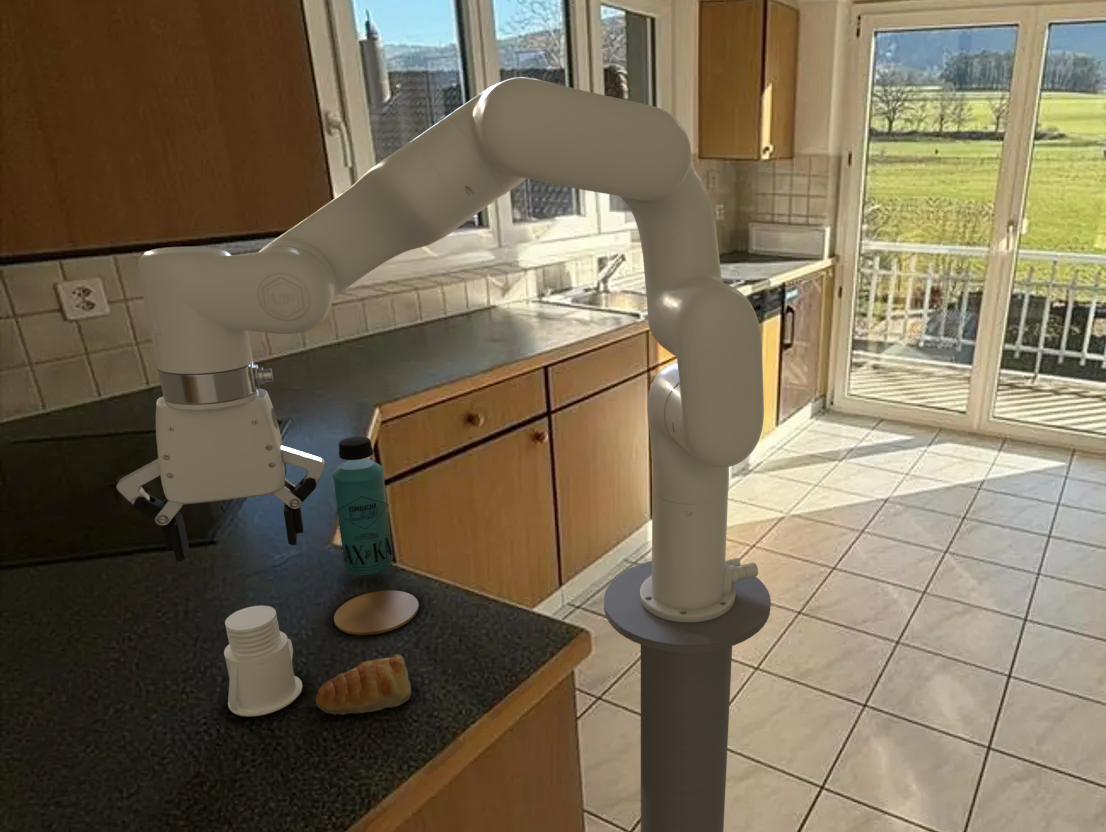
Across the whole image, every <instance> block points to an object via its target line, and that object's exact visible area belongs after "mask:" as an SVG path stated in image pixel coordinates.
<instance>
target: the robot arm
mask: <svg viewBox="0 0 1106 832" xmlns="http://www.w3.org/2000/svg"><path fill="white" fill-rule="evenodd" d="M527 179H529V180H533V181H537V182H542V183H545V184H551V185H556V186H561V187H566V188H569V189H576V190H580V191H581V190H582V191H587V192H593V193H598V194H599V193H600V194H606V195H611V196H616V197H620V198H621V200H623V202H624V203H625V204H626V206H627V207H628V209H629V210H630V211H631V214H632V215H633V218H634V220H635V224H636V226H637V231H638V234H639V235H638V236H639V240H640V248H641V253H642V260H643V261H642V262H643V273H644V282H645V295H646V296H645V297H646V310H647V323H648V328H649V331H650V333H651V335H652V337H653V339H654V341H656V342H657V343H658V345H659V346H661V347H662V348H663V349H664V350H666V351H667V352H669V353H670V354H671V355H673V356H674V357H676V360H677V361H675V362H672V363H670V364H668V365H666V366H665V367H664V368H663V369H661V370H660V371H659V373H657V375H656V376H655V378H654V379H653V381H652V383H651V385H650V387H649V391H648V395H647V403H646V404H647V421H648V430H649V436H650V437H649V438H650V445H651V462H652V464H651V465H652V488H651V561H652V575H651V576H649V577H648V578H647V579H646V580H645V581H644V582H643V583H642V585H641V588H640V601H641V603H642V605H643V606H644V608H645V609H646V610H648V611H649V612H650V613H652V614H653V615H655V616H657V617H660V618H662V619H666V620H669V621H675V622H684V623H693V622H702V621H708V620H711V619H714V618H717V617H719V616H721V615H723V614H725V613H726V612H727V611H729V610H730V609H731V608H732V606H733V605H734V602H735V596H736V591H735V587H734V585H733V584H734V583H737V581H738V580H739V579H746V578H751V577H755V576H756V577H758V574H759V568H758V565H757V564H756V563H755V562H754V561H753V562H752V561H751V562H748V563H743V564H741V560H740V558H739V557H734V558H730V559H727V560H726V555H727V553H726V550H727V529H728V510H729V509H728V508H729V507H728V506H729V491H730V490H729V487H730V467H733V466H736V465H738V464H740V463H742V462H744V460H746V459H747V458H748V457H749V456H750V455H751V454H752V453H753V452H754V450H755V449H756V447H757V445H758V443H759V441H760V438H761V436H762V432H763V428H764V419H765V401H764V400H765V399H764V370H763V369H764V368H763V366H764V365H763V345H762V333H761V326H760V322H759V319H758V316H757V313H756V310H755V309H754V307H753V305H752V303H751V301H750V300H749V298H747V297H746V295H745V294H743V292H741V291H740V290H738V289H737V288H736V287H734V286H732V285H730V284H728V283H725V282H724V281H723V277H722V271H721V261H720V251H719V243H718V233H717V232H718V231H717V223H716V216H715V211H714V207H713V204H712V200H711V198H710V194H709V191H708V190H707V188H706V185H705V183H704V182H703V180H702V178H701V176H700V175H699V174H698V172H697V170H696V169H695V167H694V166H693V165H692V147H691V142H690V139H689V136H688V134H687V132H686V130H685V128H684V127H683V125H682V124H681V123H680V122H679V120H678V119H677V118H676V117H674V115H672V114H671V113H670V112H668V111H666V110H664V109H662V108H660V107H657V106H655V105H650V104H646V103H642V102H637V101H633V100H628V99H624V98H619V97H614V96H609V95H605V94H601V93H596V92H591V91H588V90H583V89H578V88H575V87H571V86H566V85H562V84H559V83H554V82H551V81H546V80H541V79H537V78H533V77H532V78H530V77H526V76H525V77H524V76H522V77H521V76H520V77H511V78H508V79H505V80H502V81H501V82H498V83H495V84H493V85H492V86H489V87H488V88H486V89H485V90H483V91H482V92H480V93H478V94H477V95H475V96H474V97H472V98H471V99H469V100H468V101H467V102H466V103H464V104H462V105H461V106H459V107H458V108H456V109H455V110H454V111H452V112H451V113H449V114H448V115H446V116H445V117H444V118H442V119H441V120H439V121H438V122H436V123H435V124H433V125H432V126H430V127H429V128H428V129H426V130H425V131H423V132H422V133H421V134H419V135H418V136H416V137H415V138H413V139H412V140H410V141H408V142H407V143H406V144H404V145H403V146H401V147H400V148H398V149H397V150H395V151H394V152H392V153H391V154H389V155H388V156H386V157H385V158H383V159H382V160H381V161H380V162H378V163H377V164H375V165H374V166H373V167H371V168H370V169H368V171H366V173H364V174H363V175H362V176H361V177H360V178H359V179H358V180H357V181H356V182H355V183H354V184H352V185H351V186H350V187H349V188H347V189H346V190H345V191H344V192H342V193H340V194H339V195H337V197H335V198H333V199H332V200H331V201H329V202H327V203H326V204H325V205H323V206H322V207H320V208H319V209H317V210H315V212H313V213H311V214H310V215H309V216H307V217H306V218H305V219H303V220H302V221H300V222H298V223H297V224H295V225H294V226H292V228H290V229H288V230H287V231H285V232H284V233H282V234H281V235H280V236H278V237H277V238H275V239H273V240H272V241H271V242H269V243H268V244H267V245H265V246H264V247H262V248H261V249H260V250H259V251H257V252H255V253H247V254H235V255H232V254H231V253H230V252H228V251H226V250H224V249H220V248H216V247H207V246H171V247H170V246H169V247H160V248H154V249H150V250H148V251H145V252H144V253H142V254H141V256H140V257H139V259H138V263H137V272H138V278H139V283H140V287H141V288H140V289H141V292H142V298H143V302H144V307H145V312H146V318H147V323H148V327H149V333H150V337H151V342H152V347H153V353H154V357H155V363H156V366H157V372H158V376H159V377H158V378H159V382H160V386H161V392H162V396H161V397H159V398H157V399H156V405H155V407H156V408H155V439H156V447H157V448H156V449H157V458H156V459H154V460H153V461H151V462H149V463H147V464H144V465H143V466H141V467H139V468H138V469H136V470H134V471H132V472H130V473H129V474H127V475H125V476H123V477H122V478H120V479H119V480H118V482H117V484H116V490H117V491H118V492H119V493H120V494H121V496H122V497H124V498H125V499H126V500H127V501H128V502H130V503H131V505H133V508H134V509H135V510H136V511H138V512H139V513H141V514H144V515H145V516H147V517H149V518H151V519H152V520H154V521H155V524H157V525H158V526H161V530H162V534H163V539H164V544H165V548H166V551H167V552H172V551H173V553H174V557H175V558H174V559H175V562H176V563H178V562H183V561H184V560H186V558H187V556H188V553H189V548H190V547H189V540H188V536H187V530H186V525H185V520H184V515H183V514H182V513H181V512H180V510H181V509H182V508H183V506H184V505H192V504H194V505H195V504H202V503H203V504H204V503H211V502H212V503H213V502H222V501H229V500H238V499H246V498H255V497H262V496H268V495H272V496H274V497H275V498H277V499H278V500H279V501H281V502H282V503H283V517H284V523H285V530H286V536H287V542H288V545H290V546H297V545H298V534H302V533H304V521H303V514H302V507H301V506H302V504H303V503H304V502H305V500H306V499H307V498H308V497H310V495H311V494H312V493H313V492H314V491H315V490H316V488H317V485H318V483H319V481H320V479H321V477H322V475H323V473H324V470H325V468H326V461H325V459H324V458H322V457H320V456H317V455H313V454H311V453H308V452H304V451H301V450H298V449H295V448H291V447H288V446H285V445H283V441H282V436H281V435H282V434H281V431H280V427H279V423H278V418H277V415H276V411H275V409H274V405H273V403H272V400H271V398H270V395H269V393H268V391H267V390H265V389H264V388H260V387H261V385H265V384H266V383H273V382H274V375H273V374H274V373H273V368H272V367H265V368H264V367H263V366H261V367H260V366H259V365H258V364H255V359H254V358H253V352H252V351H253V350H252V345H251V338H250V333H249V331H250V332H259V333H267V334H276V335H277V334H278V335H295V334H296V335H297V334H301V333H306V332H309V331H311V330H312V329H315V328H316V327H318V326H320V325H321V324H322V323H323V322H324V321H325V319H326V318H327V317H328V316H329V313H330V311H331V308H332V305H333V300H334V298H336V297H337V296H339V295H340V294H341V293H343V291H345V290H346V289H348V288H350V286H352V285H354V284H355V283H356V282H358V281H360V280H361V279H362V278H363V277H365V276H366V275H368V274H369V273H370V272H372V271H374V270H375V269H376V268H378V267H380V266H381V265H383V264H384V263H386V262H389V261H390V260H391V259H394V258H396V257H397V256H400V255H401V254H403V253H405V252H409V251H412V250H416V249H420V248H424V247H427V246H430V245H433V244H434V243H436V242H438V241H440V240H442V239H444V238H445V237H447V236H448V235H450V234H452V232H454V231H455V230H457V229H458V228H459V227H461V226H462V225H465V223H466V222H468V221H470V220H471V219H472V218H473V217H475V216H476V215H478V213H480V212H482V211H483V210H484V209H486V208H487V207H488V206H490V205H491V204H493V203H494V202H496V201H497V200H498V199H500V198H501V197H503V196H504V195H507V194H508V193H509V192H510V191H512V190H513V189H514V188H516V187H517V186H519V185H520V184H522V183H523V182H525V180H527ZM287 464H288V465H292V466H295V467H297V468H301V469H305V470H306V473H305V475H304V477H303V478H302V479H301V480H300V481H299V482H298V483H297V484H296V485H295V484H294V483H292V482H291V481H290V480H288V479H287V478H286V475H287ZM158 477H160V481H161V486H162V490H163V494H164V496H165V499H164V501H163V500H161V499H159V498H157V497H155V496H154V495H152V494H150V493H148V492H146V491H145V489H144V488H143V487H142V486H144V485H145V484H147V483H149V482H151V481H153V480H155V479H156V478H158Z"/></svg>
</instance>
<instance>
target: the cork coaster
mask: <svg viewBox="0 0 1106 832" xmlns="http://www.w3.org/2000/svg"><path fill="white" fill-rule="evenodd" d="M419 609H420V605H419V601H418V599H417V598H416V597H415V596H414V595H413V594H410V592H406V591H402V590H393V589H392V590H391V589H390V590H388V589H387V590H378V591H372V592H367V593H364V594H361V595H358V596H356V597H354V598H351V599H350V600H347V601H346V602H345V603H343V604H342V605H341V606H340V607H338V609H336V612H334V616H333V621H334V625H335V627H336V628H337V629H338V630H339V631H341V632H342V633H343V632H344V633H346V634H349V635H354V636H370V635H371V636H372V635H378V634H384V633H387V632H390V631H393V630H396V629H398V628H400V627H402V626H404V625H407V623H409V622H410V621H411V620H412V619H414V617H416V615H417V613H418V611H419Z"/></svg>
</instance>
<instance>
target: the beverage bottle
mask: <svg viewBox="0 0 1106 832" xmlns="http://www.w3.org/2000/svg"><path fill="white" fill-rule="evenodd" d="M373 455H374V449H373V446H372V441H371V439H370V438H369V437H366V436H350V437H346V438H343V439H341V440H340V441H339V442H338V457H339V459H341V460H343V461H344V460H345V461H344V462H342V463H340V464H339V465H338V466H337V467H336V468H335V470H334V471H333V472H332V478H333V486H334V492H335V499H336V501H335V502H336V510H337V511H336V515H337V527H338V530H339V538H340V540H339V541H340V542H339V544H340V550H341V552H342V555H341V559H343V560H342V562H343V563H342V564H343V565H344V568H345V569H346V571H347V572H348V573H350V574H352V575H356V576H367V575H368V576H369V575H373V574H377V573H380V572H383V571H385V570H387V569H388V568H390V566H391V565H392V564H393V560H394V558H395V556H394V546H393V538H392V537H393V536H392V529H391V527H392V525H391V523H390V522H391V519H390V516H391V515H390V514H389V507H390V506H389V504H388V503H387V493H386V484H385V475H384V474H385V473H384V468H383V466H382V465H381V464H379V463H378V462H376V461H374V460H372V459H370V458H369V457H372V456H373Z"/></svg>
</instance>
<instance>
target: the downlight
mask: <svg viewBox="0 0 1106 832" xmlns="http://www.w3.org/2000/svg"><path fill="white" fill-rule="evenodd" d="M224 625H225V630H226V636H227V640H228V644H227V645H226V647H224V651H223V655H224V659H225V664H226V669H227V673H228V678H229V683H228V696H227V700H228V701H227V706H228V709H229V710H230V712H231V713H232V714H235V715H237V716H240V717H261V716H265V715H269V714H272V713H274V712H277V711H280V710H281V709H284V708H285V707H287V706H288V705H290V704H292V703H293V702H294V701H295V700H297V698H299V696H300V695H301V693H302V691H303V682H302V679H300V677H298V676H296V675H295V673H294V666H293V657H294V646H293V643H292V639H291V638H288V635H287V634H286V633H284V632H283V631H281V630H280V627H279V621H278V616H277V611H276V609H275V608H274V607H272V606H269V605H254V606H253V605H252V606H248V607H245V608H241V609H239V610H236V611H234V612H233V613H232V614H230V615H229V616H227V618H226V619H225V621H224Z"/></svg>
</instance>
